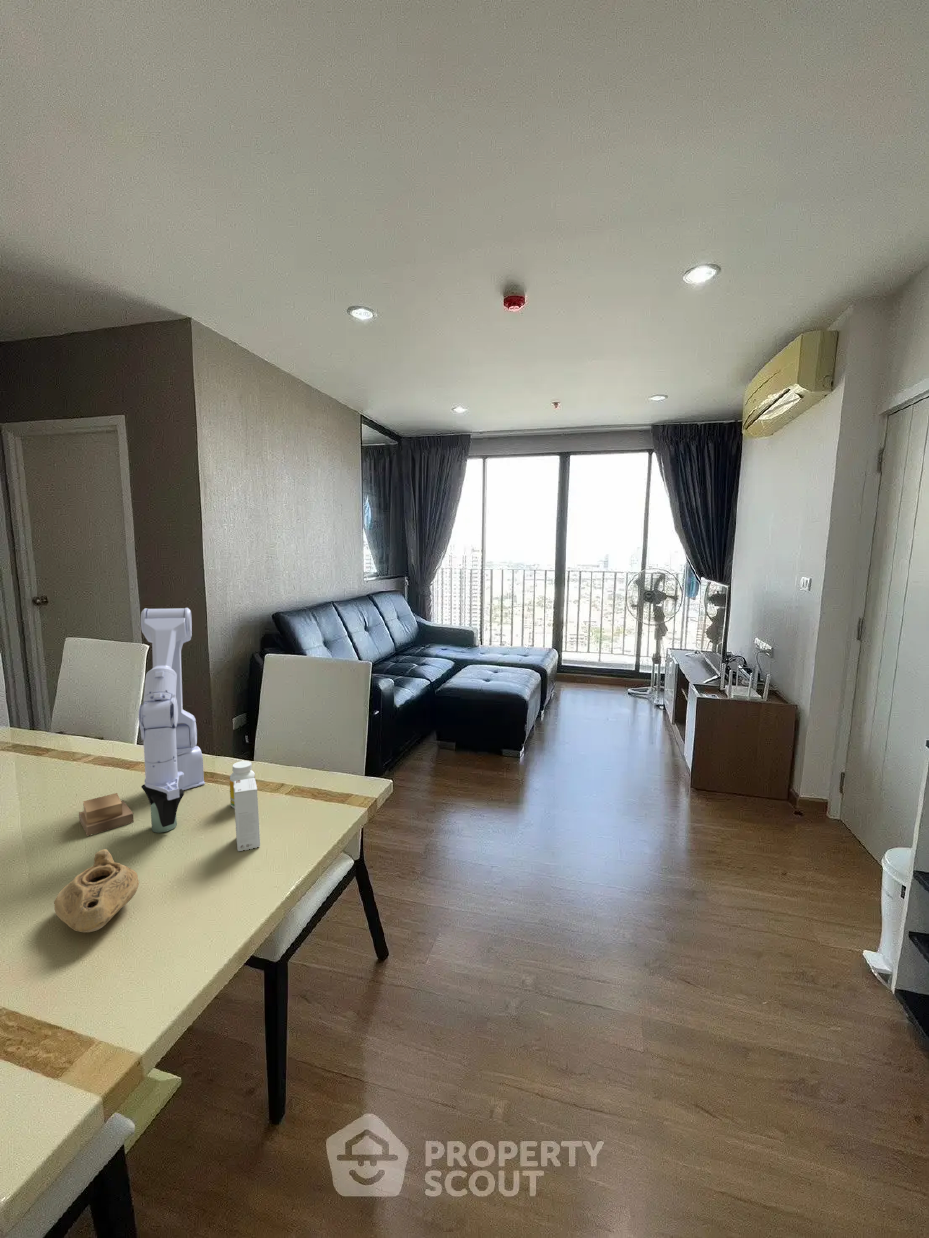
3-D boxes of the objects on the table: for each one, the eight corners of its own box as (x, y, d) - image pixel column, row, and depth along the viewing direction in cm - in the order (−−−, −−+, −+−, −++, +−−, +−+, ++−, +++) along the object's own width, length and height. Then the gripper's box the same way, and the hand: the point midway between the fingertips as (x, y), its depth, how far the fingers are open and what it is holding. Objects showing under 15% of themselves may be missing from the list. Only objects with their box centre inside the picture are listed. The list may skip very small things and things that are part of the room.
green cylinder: (172, 818, 110) (171, 796, 109) (179, 826, 107) (178, 804, 106) (148, 826, 107) (147, 803, 106) (155, 834, 104) (154, 811, 103)
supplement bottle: (236, 798, 120) (235, 759, 119) (259, 798, 120) (258, 759, 119) (226, 809, 115) (225, 768, 114) (250, 809, 115) (249, 769, 114)
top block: (117, 803, 112) (117, 792, 112) (122, 814, 108) (121, 803, 107) (84, 812, 108) (83, 801, 108) (87, 823, 104) (86, 812, 103)
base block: (123, 810, 114) (123, 800, 114) (133, 824, 109) (133, 813, 108) (79, 823, 108) (79, 812, 108) (87, 838, 103) (86, 827, 103)
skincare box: (260, 847, 100) (259, 789, 99) (235, 852, 99) (234, 793, 97) (258, 832, 106) (257, 776, 104) (234, 836, 104) (233, 780, 103)
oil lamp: (57, 962, 72) (53, 909, 71) (54, 904, 83) (50, 858, 82) (148, 927, 79) (145, 879, 78) (133, 878, 90) (131, 836, 89)
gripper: (194, 762, 103) (197, 826, 104) (170, 743, 113) (173, 801, 114) (155, 772, 98) (158, 839, 99) (133, 751, 108) (137, 812, 109)
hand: (164, 820), depth 106 cm, fingers closed on green cylinder, 4 cm apart
